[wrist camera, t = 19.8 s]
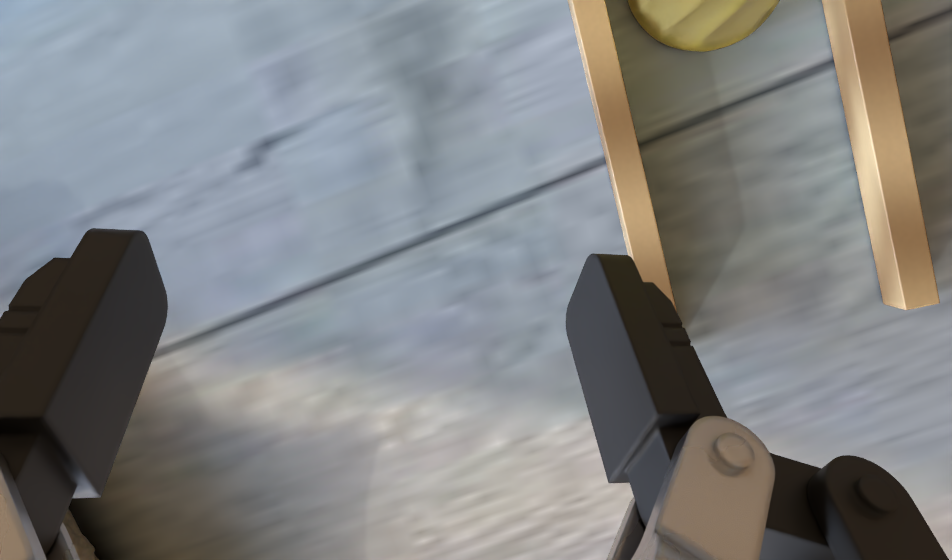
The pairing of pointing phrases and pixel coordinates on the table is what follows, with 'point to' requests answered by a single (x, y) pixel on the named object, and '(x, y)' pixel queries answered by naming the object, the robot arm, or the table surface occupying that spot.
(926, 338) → the table surface
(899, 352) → the table surface
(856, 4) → the u-shaped frame
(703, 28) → the vase
